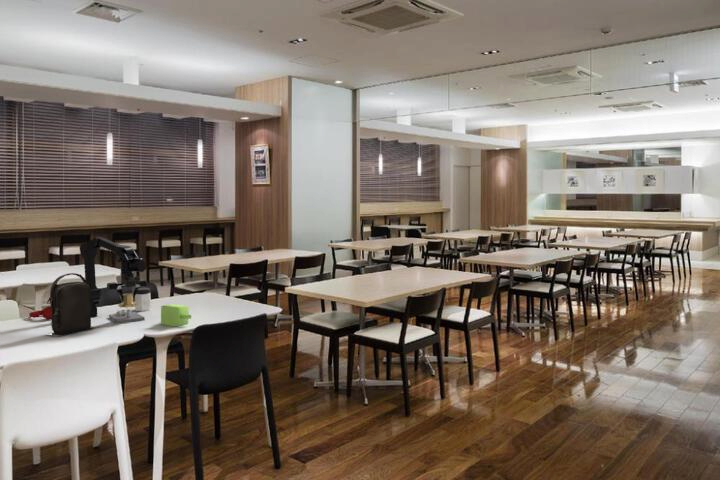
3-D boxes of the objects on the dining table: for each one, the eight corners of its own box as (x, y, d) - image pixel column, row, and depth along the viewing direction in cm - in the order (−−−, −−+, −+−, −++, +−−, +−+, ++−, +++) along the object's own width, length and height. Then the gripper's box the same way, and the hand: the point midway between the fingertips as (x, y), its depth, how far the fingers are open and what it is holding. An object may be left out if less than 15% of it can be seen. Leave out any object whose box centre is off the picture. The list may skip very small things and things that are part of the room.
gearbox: (197, 325, 288) (197, 306, 288) (182, 328, 280) (182, 308, 279) (172, 320, 297) (172, 302, 297) (157, 323, 289) (157, 304, 288)
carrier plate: (118, 323, 290) (117, 313, 289) (109, 317, 304) (108, 307, 304) (144, 320, 297) (144, 309, 297) (134, 314, 312) (134, 304, 311)
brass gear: (121, 308, 291) (120, 296, 290) (116, 305, 298) (116, 294, 297) (139, 306, 296) (139, 294, 295) (134, 303, 303) (134, 292, 303)
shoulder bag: (89, 325, 287) (87, 269, 285) (100, 327, 282) (98, 270, 280) (44, 335, 268) (41, 275, 266) (55, 337, 263) (52, 276, 261)
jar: (138, 312, 318) (137, 290, 317) (132, 309, 324) (131, 288, 323) (154, 309, 324) (153, 288, 323) (147, 307, 330) (147, 286, 329)
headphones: (73, 315, 310) (49, 317, 319) (71, 302, 310) (47, 304, 318) (48, 320, 296) (24, 322, 305) (46, 307, 296) (22, 309, 305)
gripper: (111, 274, 283) (112, 305, 285) (150, 271, 295) (151, 301, 296) (105, 271, 292) (107, 302, 294) (143, 268, 303) (144, 298, 305)
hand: (127, 301), depth 297 cm, fingers closed on brass gear, 5 cm apart
